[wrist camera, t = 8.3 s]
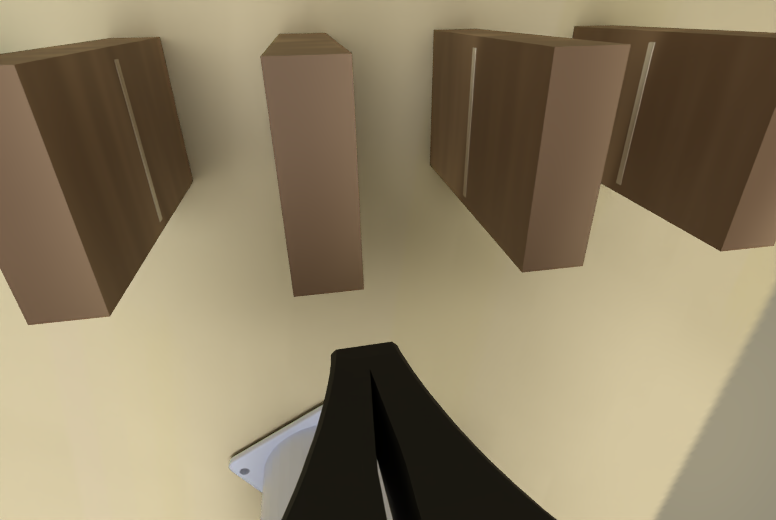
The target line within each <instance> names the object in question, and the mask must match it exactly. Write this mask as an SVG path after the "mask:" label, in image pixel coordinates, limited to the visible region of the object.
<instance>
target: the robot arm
mask: <svg viewBox="0 0 776 520" xmlns="http://www.w3.org/2000/svg"><path fill="white" fill-rule="evenodd" d="M229 469H230V470H231V471H232V472H234V473H235V474H236V475H238V476H239V477H241V478H242V479H243V480H245V481H246V482H248V483H249V484H250V485H252V486H253V487H255V488H256V489H257V490H259V491H260V492H262V505H261V519H260V520H556V519H555V518H554V517H553V516H551V515H550V514H549V513H548V512H546V511H545V510H544V509H543V508H542V507H540V506H539V505H538V504H537V503H536V502H535V501H534V500H532V499H531V498H530V497H529V496H528V495H527V494H526V493H524V492H523V491H522V490H521V489H520V488H519V487H518V486H517V485H515V484H514V483H513V482H512V481H511V480H510V479H509V478H508V477H507V476H506V475H505V474H504V473H503V472H502V471H500V470H499V469H498V468H497V467H496V466H495V465H494V464H493V463H492V462H491V461H490V460H489V459H488V458H487V457H486V456H485V455H484V454H483V453H482V452H481V451H480V450H479V449H478V448H477V447H476V446H475V445H474V444H473V442H472V441H471V440H470V439H469V438H468V437H467V436H466V435H465V434H464V433H463V432H462V431H461V430H460V428H459V427H458V426H457V425H456V424H455V423H454V422H453V420H452V419H451V418H450V417H449V416H448V415H447V414H446V412H445V411H444V410H443V409H442V407H441V406H440V405H439V404H438V403H437V401H436V400H435V399H434V398H433V396H432V395H431V394H430V393H429V391H428V390H427V389H426V388H425V386H424V385H423V384H422V382H421V381H420V380H419V378H418V377H417V375H416V374H415V373H414V371H413V370H412V368H411V367H410V365H409V364H408V362H407V361H406V359H405V358H404V356H403V355H402V353H401V351H400V350H399V348H398V346H397V345H396V344H395V343H393V342H387V343H380V344H373V345H366V346H359V347H352V348H345V349H338V350H335V351H334V352H333V353H332V354H331V368H330V375H329V381H328V386H327V391H326V395H325V400H324V403H323V405H321V406H319V407H318V408H316V409H314V410H313V411H311V412H309V413H307V414H306V415H304V416H302V417H301V418H299V419H297V420H295V421H294V422H292V423H290V424H289V425H287V426H285V427H283V428H282V429H280V430H278V431H277V432H275V433H273V434H271V435H270V436H268V437H266V438H265V439H263V440H261V441H259V442H258V443H256V444H254V445H253V446H251V447H249V448H248V449H246V450H244V451H242V452H241V453H239V454H237V455H236V456H234V457H232V458H231V459H230V462H229Z"/></svg>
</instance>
